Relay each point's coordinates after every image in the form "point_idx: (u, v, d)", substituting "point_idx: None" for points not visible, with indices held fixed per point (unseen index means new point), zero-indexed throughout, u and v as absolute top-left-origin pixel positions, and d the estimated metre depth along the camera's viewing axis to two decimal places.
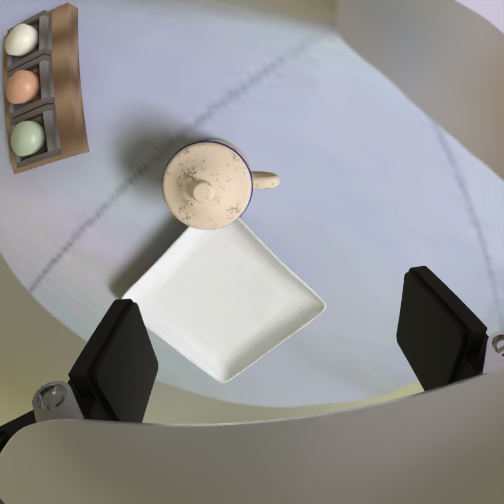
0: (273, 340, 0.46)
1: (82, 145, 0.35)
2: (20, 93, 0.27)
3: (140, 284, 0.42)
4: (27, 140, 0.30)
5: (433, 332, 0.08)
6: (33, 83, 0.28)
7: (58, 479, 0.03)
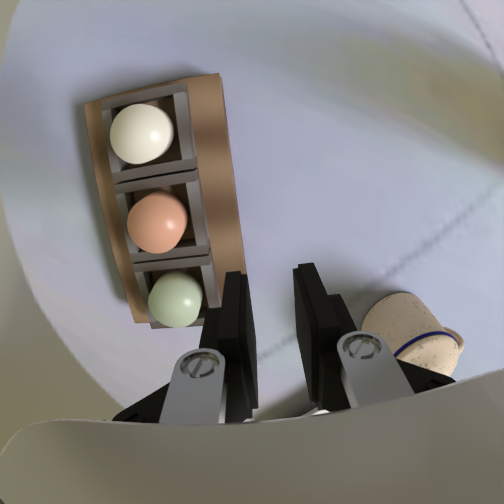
0: None
1: None
2: (162, 239, 0.24)
3: None
4: (183, 310, 0.26)
5: (303, 327, 0.09)
6: (184, 223, 0.24)
7: (58, 479, 0.03)
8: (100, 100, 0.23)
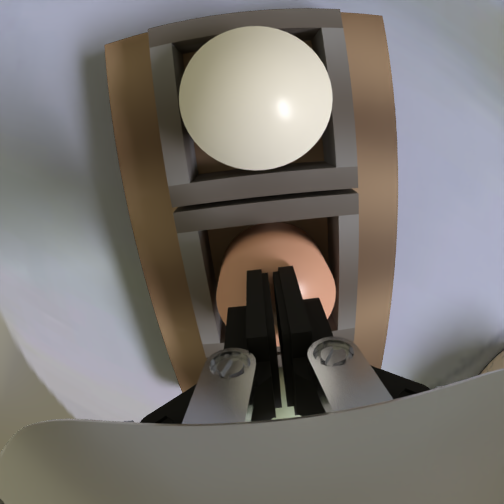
0: None
1: None
2: None
3: None
4: None
5: (279, 331, 0.09)
6: None
7: (58, 479, 0.03)
8: (140, 36, 0.10)
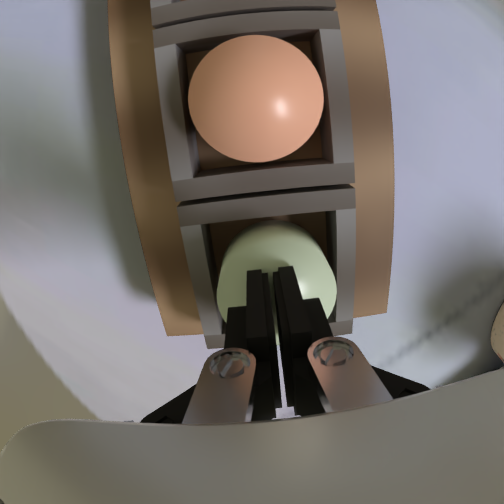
0: None
1: None
2: (274, 127, 0.10)
3: None
4: None
5: (279, 331, 0.09)
6: None
7: (58, 479, 0.03)
8: None
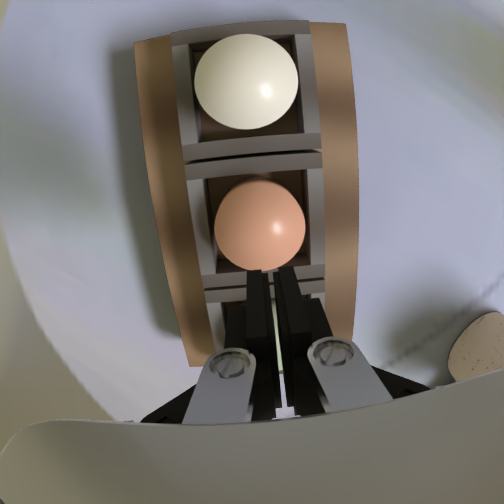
0: None
1: None
2: (271, 249, 0.16)
3: None
4: None
5: (279, 331, 0.09)
6: None
7: (58, 479, 0.03)
8: (162, 38, 0.14)
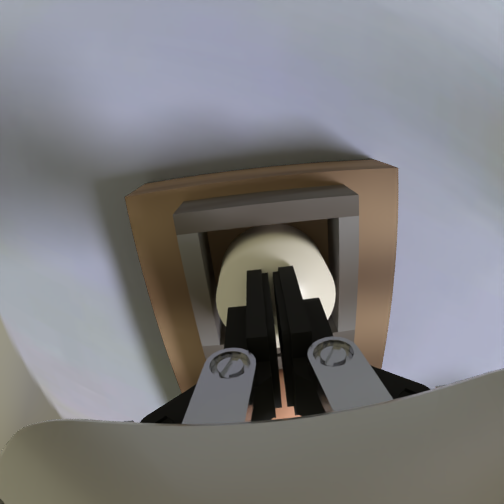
0: None
1: None
2: None
3: None
4: None
5: (279, 331, 0.09)
6: None
7: (58, 479, 0.03)
8: (160, 193, 0.13)
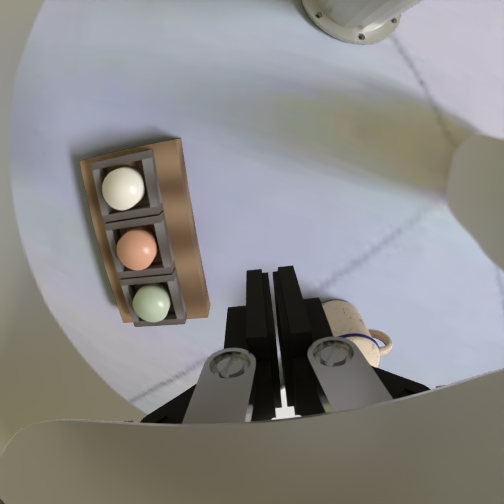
0: None
1: (207, 304, 0.41)
2: (140, 260, 0.34)
3: None
4: (157, 309, 0.36)
5: (279, 331, 0.09)
6: (155, 249, 0.34)
7: (58, 479, 0.03)
8: (91, 158, 0.32)
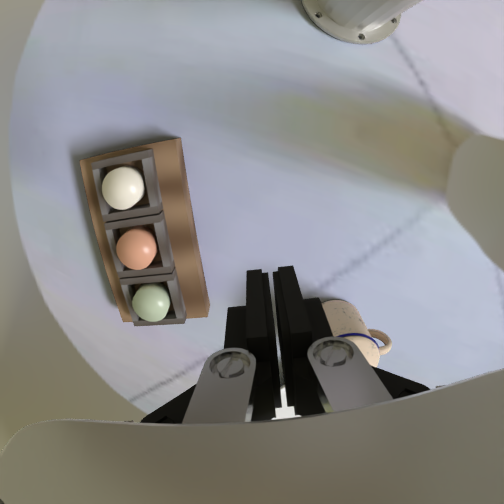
0: None
1: (207, 304, 0.41)
2: (140, 260, 0.34)
3: None
4: (156, 309, 0.36)
5: (279, 331, 0.09)
6: (155, 249, 0.34)
7: (58, 479, 0.03)
8: (91, 158, 0.32)
